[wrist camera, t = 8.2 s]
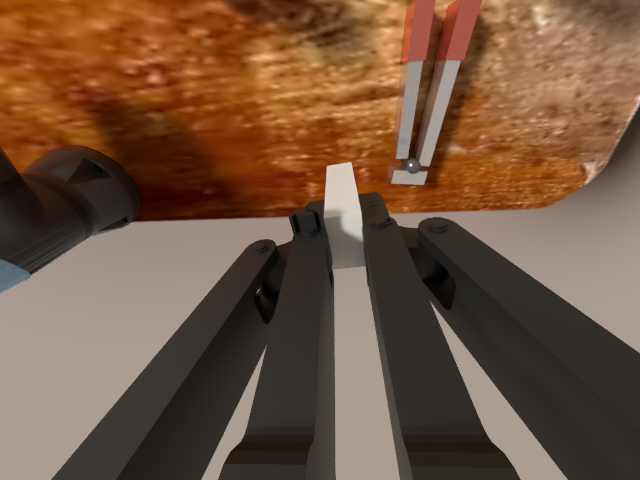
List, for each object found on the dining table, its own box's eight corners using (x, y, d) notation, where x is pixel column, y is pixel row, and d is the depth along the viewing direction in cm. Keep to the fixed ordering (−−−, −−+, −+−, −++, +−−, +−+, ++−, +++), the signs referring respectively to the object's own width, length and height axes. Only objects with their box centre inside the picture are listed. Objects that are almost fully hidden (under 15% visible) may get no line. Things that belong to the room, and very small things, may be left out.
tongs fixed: (418, 176, 38) (427, 187, 34) (387, 175, 38) (392, 185, 34) (466, 6, 26) (486, -5, 23) (421, 5, 27) (434, -6, 23)
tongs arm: (403, 151, 36) (409, 159, 33) (390, 152, 36) (394, 159, 33) (424, 6, 27) (435, -3, 24) (406, 8, 27) (415, -1, 24)
